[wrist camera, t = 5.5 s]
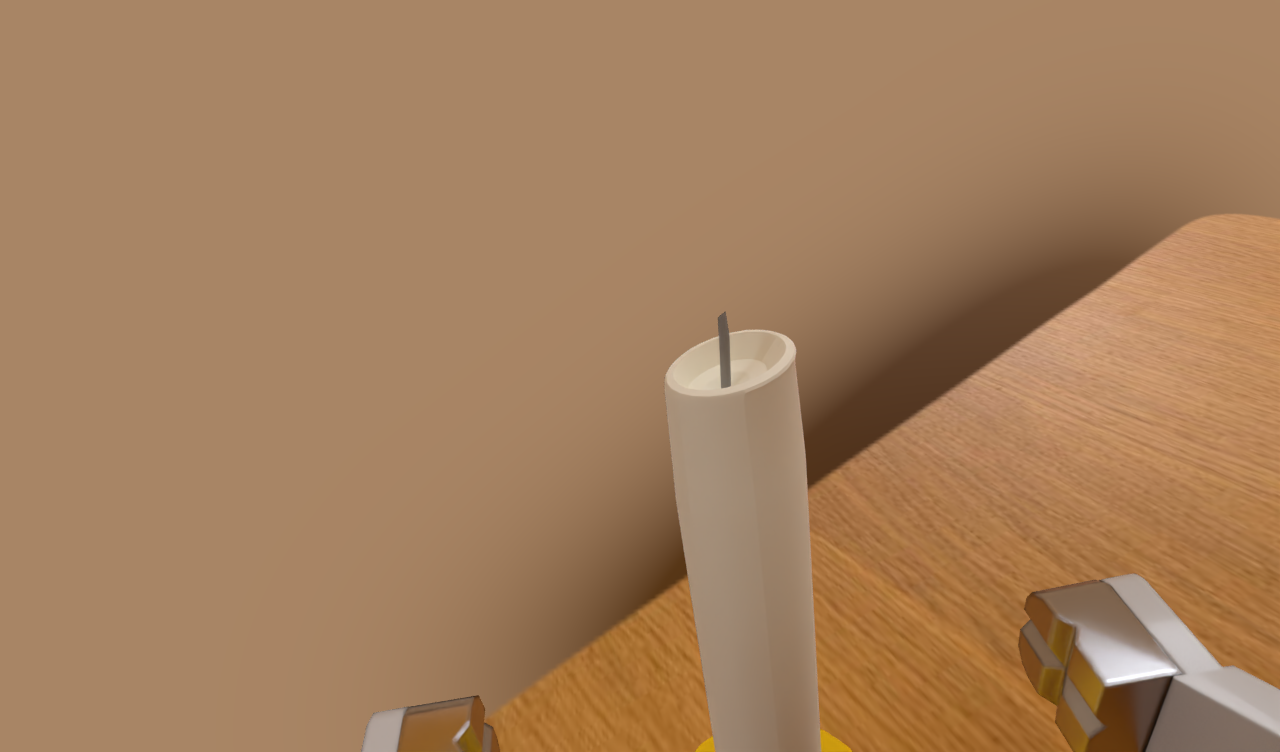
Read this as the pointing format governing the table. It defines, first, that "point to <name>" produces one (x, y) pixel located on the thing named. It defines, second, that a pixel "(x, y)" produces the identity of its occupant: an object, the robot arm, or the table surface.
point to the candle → (747, 539)
